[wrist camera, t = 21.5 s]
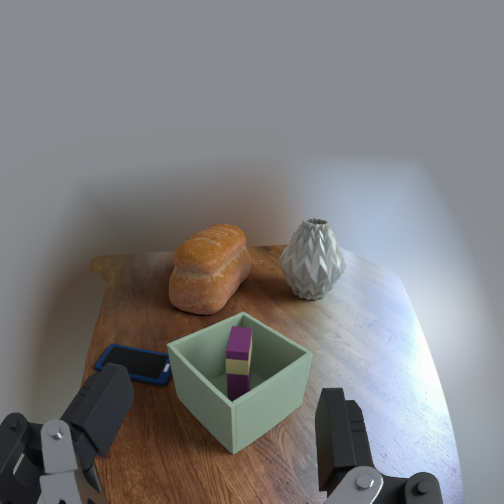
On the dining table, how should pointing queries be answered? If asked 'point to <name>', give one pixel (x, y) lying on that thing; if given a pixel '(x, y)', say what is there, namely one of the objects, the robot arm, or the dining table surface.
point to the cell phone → (138, 363)
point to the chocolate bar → (238, 362)
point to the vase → (312, 260)
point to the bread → (209, 269)
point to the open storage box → (261, 381)
